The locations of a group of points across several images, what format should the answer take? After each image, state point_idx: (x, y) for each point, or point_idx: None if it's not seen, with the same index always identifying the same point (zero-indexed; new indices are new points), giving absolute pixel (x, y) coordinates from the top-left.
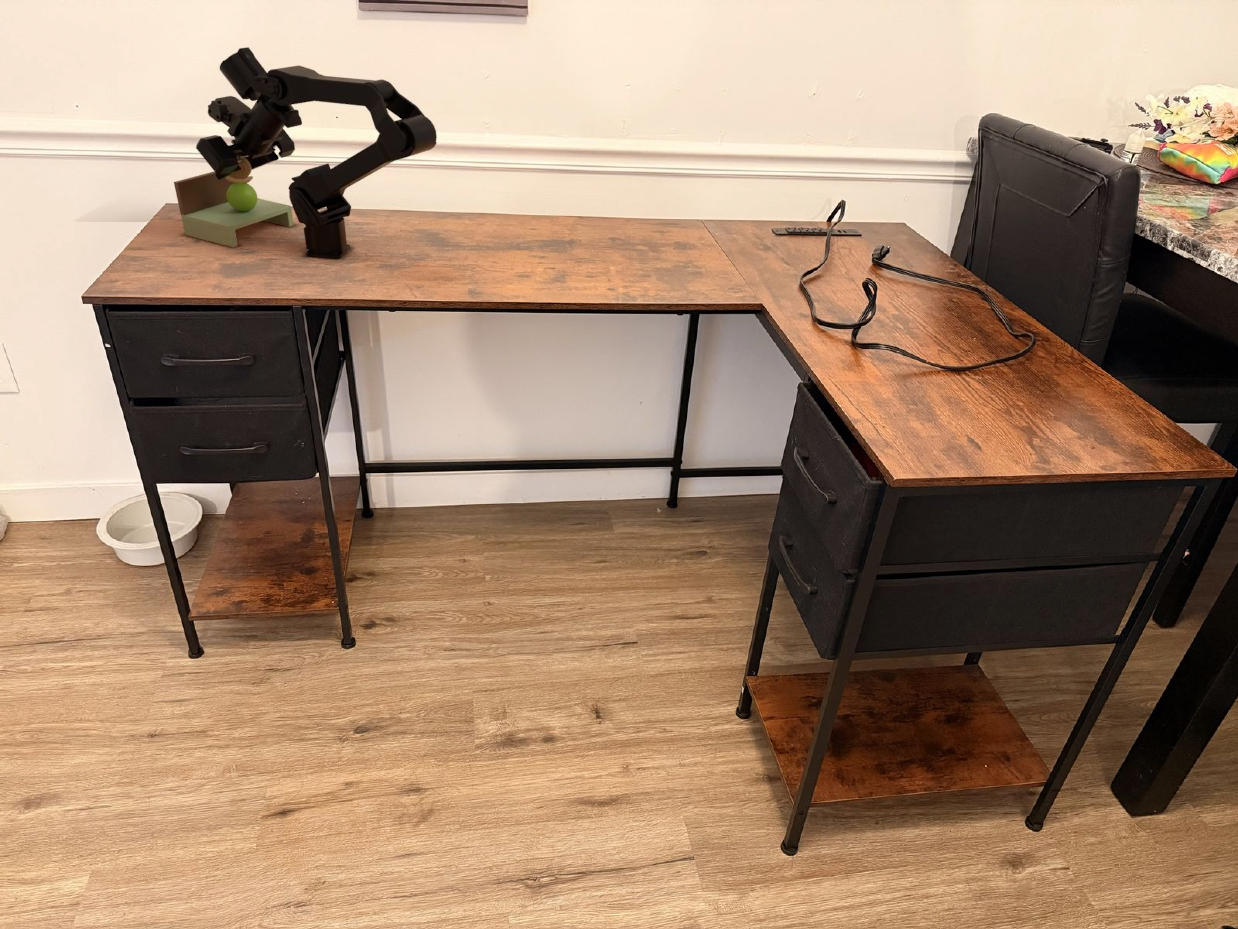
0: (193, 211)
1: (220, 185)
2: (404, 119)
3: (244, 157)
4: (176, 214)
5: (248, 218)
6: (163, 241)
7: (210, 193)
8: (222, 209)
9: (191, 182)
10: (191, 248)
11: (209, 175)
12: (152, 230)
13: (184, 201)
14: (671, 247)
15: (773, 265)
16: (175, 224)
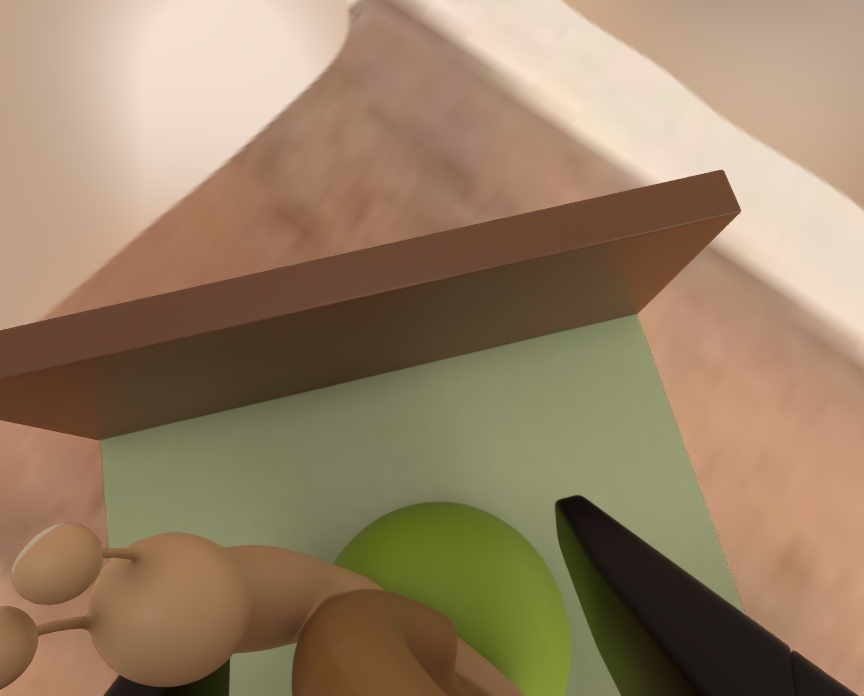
0: (171, 423)
1: (425, 326)
2: None
3: (674, 670)
4: (325, 127)
5: None
6: (30, 447)
7: (318, 363)
8: (344, 481)
9: (95, 369)
10: (43, 654)
11: (311, 316)
12: (106, 265)
13: (66, 423)
14: None
15: None
16: (234, 249)
